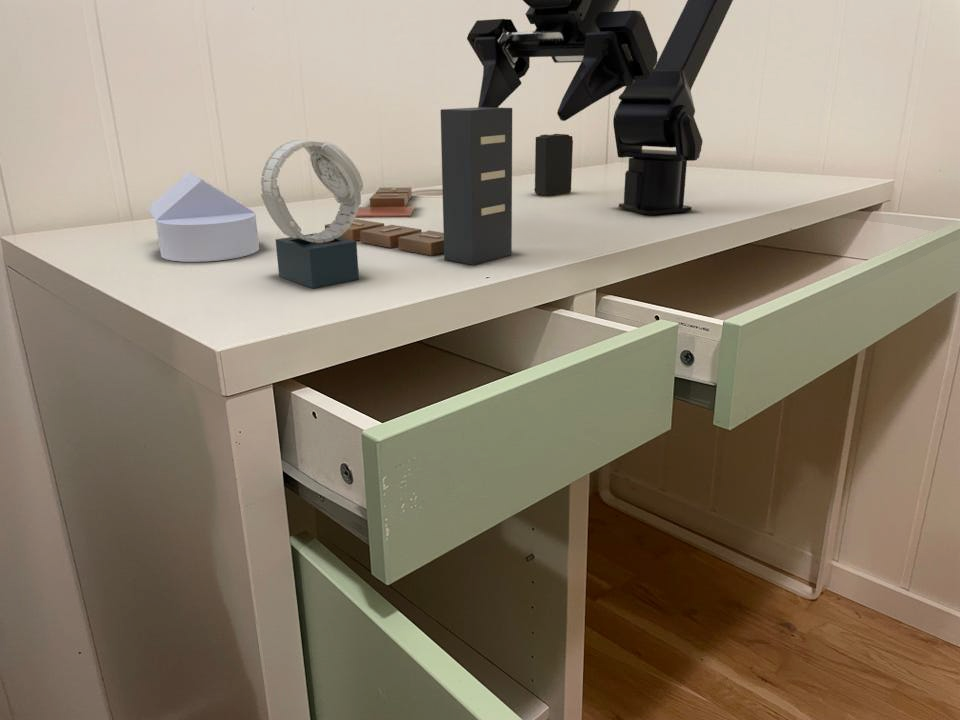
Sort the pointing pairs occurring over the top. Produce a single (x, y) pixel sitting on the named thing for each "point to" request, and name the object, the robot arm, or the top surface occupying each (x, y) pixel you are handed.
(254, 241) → the wedge on round base
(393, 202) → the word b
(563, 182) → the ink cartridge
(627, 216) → the top surface
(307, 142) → the watch
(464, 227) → the striped dark tower
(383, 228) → the segmented wooden bar
